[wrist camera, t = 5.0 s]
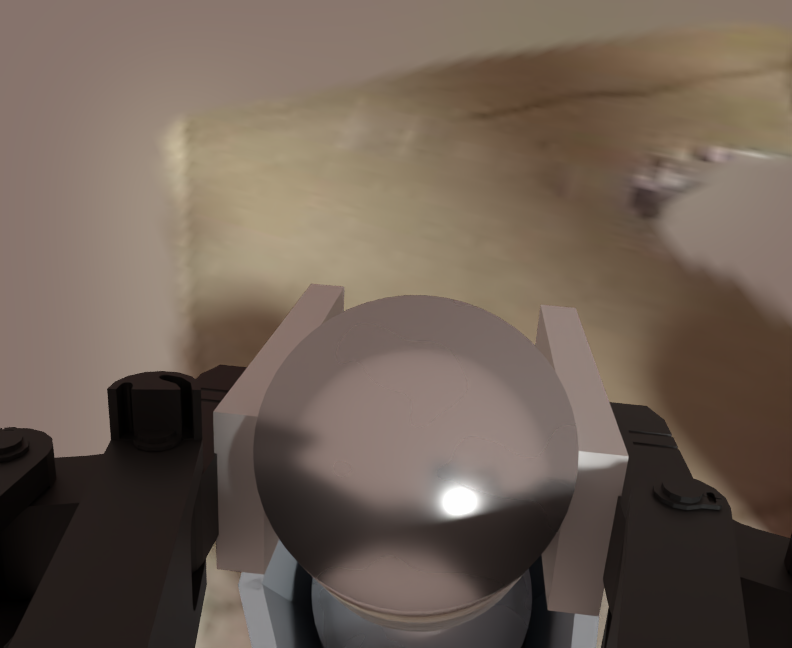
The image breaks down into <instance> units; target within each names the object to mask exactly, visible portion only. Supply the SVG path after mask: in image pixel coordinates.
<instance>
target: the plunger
mask: <svg viewBox="0 0 792 648" xmlns="http://www.w3.org/2000/svg"><path fill="white" fill-rule="evenodd" d="M578 458H579V446H578V435H577V427H576V423H575V418H574V414H573V410H572V407H571V404H570V401H569V399H568V396H567V393H566V391H565V389H564V387H563V385H562V383H561V381H560V379H559V377H558V375H557V374H556V372H555V370H554V369H553V368H552V366H551V365H550V363H549V362H548V360H547V359H546V358H545V356H544V355H543V354H542V353H541V352H540V351H539V350H538V348H537V347H536V346H535V345H534V344H533V343H532V342H531V341H530V340H529V339H528V338H527V337H525V336H524V335H523V334H522V333H521V332H520V331H518V330H517V329H516V328H515V327H513V326H512V325H510V324H509V323H507V322H506V321H504V320H502V319H501V318H499V317H498V316H496V315H494V314H492V313H490V312H488V311H486V310H484V309H482V308H479V307H476V306H473V305H471V304H468V303H465V302H462V301H457V300H453V299H449V298H444V297H436V296H427V295H404V296H396V297H388V298H383V299H379V300H374V301H370V302H366V303H364V304H361V305H358V306H356V307H353V308H350V309H348V310H346V311H344V312H342V313H340V314H338V315H336V316H334V317H332V318H331V319H329V320H328V321H326V322H325V323H323V324H322V325H320V326H319V327H317V328H316V329H314V330H313V331H312V332H311V333H310V334H309V335H308V336H306V337H305V338H304V339H303V340H302V341H301V342H300V343H299V344H298V345H297V346H296V347H295V348H294V349H293V350H292V351H291V353H290V354H289V355H288V356H287V357H286V359H285V360H284V362H283V363H282V364H281V366H280V367H279V369H278V370H277V371H276V373H275V375H274V377H273V379H272V381H271V383H270V384H269V386H268V388H267V390H266V393H265V396H264V398H263V401H262V404H261V406H260V409H259V413H258V418H257V422H256V426H255V434H254V444H253V461H254V473H255V479H256V485H257V490H258V493H259V497H260V500H261V503H262V506H263V509H264V512H265V514H266V516H267V518H268V520H269V522H270V524H271V526H272V528H273V530H274V532H275V533H276V535H277V536H278V538H279V539H280V541H281V542H282V544H283V545H284V547H285V548H286V549H287V551H288V552H289V553H290V554H291V555H292V556H293V557H294V558H295V560H296V561H297V562H298V563H299V564H300V565H301V566H302V567H303V568H304V569H305V570H306V571H307V572H308V573H309V574H310V575H311V576H312V577H313V579H312V609H313V615H314V620H315V625H316V628H317V631H318V634H319V637H320V640H321V642H322V644H323V646H324V648H521V646H522V644H523V642H524V639H525V636H526V633H527V629H528V626H529V621H530V616H531V607H532V586H531V578H530V572H529V568H530V567H531V565H532V564H533V563H534V562H535V561H536V560H537V559H538V558H539V556H540V555H541V554H542V553H543V552H544V551H545V550H546V548H547V547H548V545H549V544H550V542H551V541H552V539H553V538H554V536H555V535H556V533H557V532H558V530H559V528H560V526H561V524H562V522H563V520H564V518H565V516H566V514H567V512H568V509H569V506H570V503H571V500H572V497H573V493H574V490H575V484H576V479H577V473H578Z"/></svg>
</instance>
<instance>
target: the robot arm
mask: <svg viewBox="0 0 792 648" xmlns="http://www.w3.org/2000/svg"><path fill="white" fill-rule="evenodd" d="M343 311H344V287H342V286H331V285H320V284H311V285H310V286H309V287H308V289H307V290H306V291H305V293H304V294H303V295H302V296H301V298H300V299H299V300H298V302H297V303H296V304H295V306H294V307H293V308H292V310H291V311H290V312H289V313H288V315H287V316H286V317H285V319H284V320H283V321H282V323H281V324H280V325H279V326H278V328H277V329H276V330H275V332H274V333H273V334H272V336H271V337H270V338H269V340H268V341H267V342H266V343H265V345H264V346H263V347H262V349H261V350H260V351H259V353H258V354H257V355H256V357H255V358H254V359H253V360H252V362H251V363H250V364H249V366H248V367H237V366H227V365H219V366H217V367H215V368H213V369H211V370H209V371H207V372H204V373H202V374H200V376H199V377H198V378H197V379H194V378H193V377H192V376H188V375H185V374H182V373H177V372H166V371H157V372H144V373H139V374H135V375H130V376H127V377H125V378H122V379H120V380H118V381H116V382H114V383H113V384H112V385H111V386H110V387H109V388H108V389H107V391H108V405H109V418H110V432H111V441H110V443H109V445H108V447H107V449H106V451H105V453H104V454H99V455H90V456H77V457H62V458H61V457H60V458H54V450H53V443H52V438H51V437H50V436H48V435H47V434H46V433H44V432H42V431H37V430H34V429H28V428H16V427H9V428H5V429H3V430H2V428H1V429H0V648H195V644H196V639H197V633H198V628H199V623H200V617H201V612H202V606H203V601H204V596H205V590H206V585H207V580H206V557H207V555H208V553H209V551H210V550H211V548H212V546H213V544H214V543H215V541H216V554H217V569H222V570H230V571H238V572H246V573H254V574H262V575H264V574H265V572H266V570H267V567H268V565H269V562H270V560H271V558H272V555H273V553H274V551H275V548H276V546H277V544H278V541H279V538H278V536H277V535H276V533H275V532H274V530H273V528H272V526H271V524H270V522H269V520H268V518H267V516H266V514H265V512H264V509H263V506H262V503H261V500H260V497H259V493H258V490H257V485H256V479H255V473H254V461H253V444H254V434H255V426H256V422H257V418H258V413H259V409H260V406H261V404H262V401H263V398H264V396H265V393H266V390H267V388H268V386H269V384H270V383H271V381H272V379H273V377H274V375H275V373H276V371H277V370H278V369H279V367H280V366H281V364H282V363H283V362H284V360H285V359H286V357H287V356H288V355H289V354H290V353H291V351H292V350H293V349H294V348H295V347H296V346H297V345H298V344H299V343H300V342H301V341H302V340H303V339H304V338H305V337H306V336H308V335H309V334H310V333H311V332H312V331H313V330H314V329H316V328H317V327H319V326H320V325H322V324H323V323H325V322H326V321H328V320H329V319H331V318H332V317H334V316H336V315H338V314H340V313H342V312H343ZM535 346H536V347H537V348H538V350H539V351H540V352H541V353H542V354H543V355H544V356H545V358H546V359H547V360H548V362H549V363H550V365H551V366H552V368H553V369H554V370H555V372H556V374H557V375H558V377H559V379H560V381H561V383H562V385H563V387H564V389H565V391H566V393H567V396H568V399H569V401H570V404H571V407H572V410H573V414H574V418H575V423H576V427H577V435H578V446H579V458H578V473H577V479H576V484H575V490H574V493H573V497H572V500H571V503H570V506H569V509H568V512H567V514H566V516H565V518H564V520H563V522H562V524H561V526H560V528H559V530H558V532H557V533H556V535H555V536H554V538H553V539H552V541H551V542H550V544H549V545H548V547H547V548H546V550H545V551H544V552H543V553H542V554H541V555H542V564H543V573H544V582H545V591H546V600H547V609H548V610H550V611H558V612H566V613H574V614H582V615H590V616H598V617H599V612H600V607H601V602H602V596H603V591H604V587H605V592H606V596H607V600H608V605H609V609H608V614H607V620H606V625H605V630H604V635H603V640H602V646H601V648H792V534H791V538H786V537H783V536H779V535H776V534H772V533H769V532H765V531H762V530H758V529H755V528H752V527H749V526H746V525H744V524H741V523H739V522H737V521H734V520H732V513H731V508H730V506H729V504H728V502H727V500H726V498H725V497H724V496H723V495H722V494H720V493H719V492H718V491H717V490H716V489H715V488H713V487H711V486H709V485H707V484H705V483H703V482H701V481H699V480H696V479H693V477H692V475H691V473H690V471H689V469H688V467H687V465H686V463H685V461H684V459H683V457H682V455H681V453H680V451H679V450H678V449H677V447H678V446H677V444H676V442H675V440H674V438H673V437H671V436H672V434H671V432H670V430H669V428H668V426H667V424H666V422H665V420H664V419H663V418H661V417H660V416H659V415H657V414H656V413H655V412H654V411H652V410H651V409H650V408H648V407H647V406H641V405H631V404H622V403H612V402H609V400H608V397H607V394H606V392H605V389H604V386H603V383H602V380H601V378H600V375H599V372H598V369H597V366H596V364H595V361H594V358H593V355H592V352H591V350H590V347H589V344H588V341H587V338H586V336H585V333H584V330H583V327H582V325H581V322H580V319H579V316H578V313H577V311H576V308H572V307H561V306H550V305H541V306H540V313H539V321H538V328H537V336H536V343H535Z"/></svg>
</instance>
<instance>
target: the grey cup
mask: <svg viewBox="0 0 792 648" xmlns="http://www.w3.org/2000/svg"><path fill="white" fill-rule="evenodd" d="M529 572H530V578H531V586H532V607H531V616H530V621H529V626H528V629H527V633H526V636H525V639H524V642H523V644H522V646H521V648H596V644H597V633H598V622H599V617H598V616H590V615H582V614H574V613H566V612H558V611H550V610H548V609H547V600H546V591H545V582H544V573H543V564H542V555H540V556H539V558H538V559H537V560H536V561H535V562H534V563H533V564H532V565H531V567H530V568H529ZM312 579H313V577H312V576H311V575H310V574H309V573H308V572H307V571H306V570H305V569H304V568H303V567H302V566H301V565H300V564H299V563H298V562H297V561H296V560H295V558H294V557H293V556H292V555H291V554H290V553H289V552H288V551H287V549H286V548H285V547H284V545H283V544H282V542H281V541H280V539H279V541H278V544H277V546H276V548H275V551H274V553H273V555H272V558H271V560H270V562H269V565H268V567H267V570H266V572H265V574H264V575H262V574H254V573H246V572H242V573H241V577H240V581H239V584H238V587H239V591H240V596H241V600H242V605H243V609H244V614H245V618H246V623H247V627H248V632H249V636H250V641H251V645H252V648H324V646H323V644H322V642H321V640H320V637H319V634H318V631H317V628H316V625H315V620H314V615H313V609H312Z"/></svg>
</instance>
